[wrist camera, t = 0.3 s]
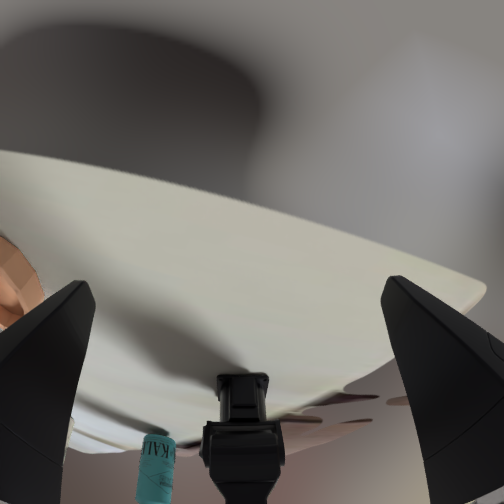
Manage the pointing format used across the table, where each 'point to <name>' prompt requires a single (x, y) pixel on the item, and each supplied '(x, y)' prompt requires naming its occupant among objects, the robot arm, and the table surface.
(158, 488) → the beverage bottle
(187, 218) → the table surface
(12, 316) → the bowl
